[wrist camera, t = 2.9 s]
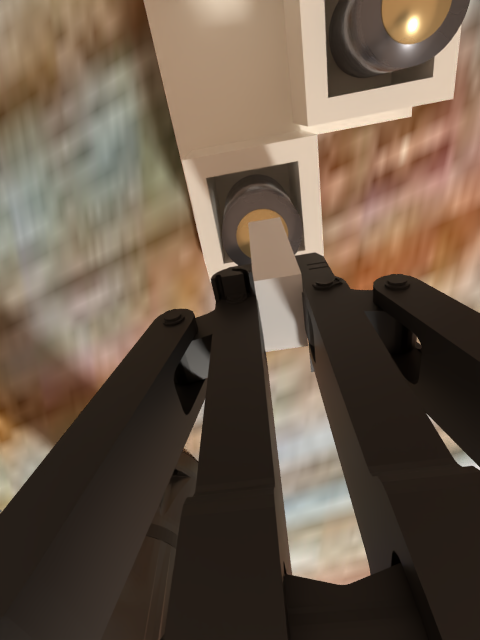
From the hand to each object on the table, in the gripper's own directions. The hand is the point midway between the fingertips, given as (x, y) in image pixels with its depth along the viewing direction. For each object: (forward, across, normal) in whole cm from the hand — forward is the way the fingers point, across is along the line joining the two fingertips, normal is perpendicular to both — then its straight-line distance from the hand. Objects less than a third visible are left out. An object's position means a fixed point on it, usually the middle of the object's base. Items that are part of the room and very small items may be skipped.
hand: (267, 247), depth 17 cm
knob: (+9, 0, 0) cm, 9 cm away
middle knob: (+9, -7, -8) cm, 14 cm away
